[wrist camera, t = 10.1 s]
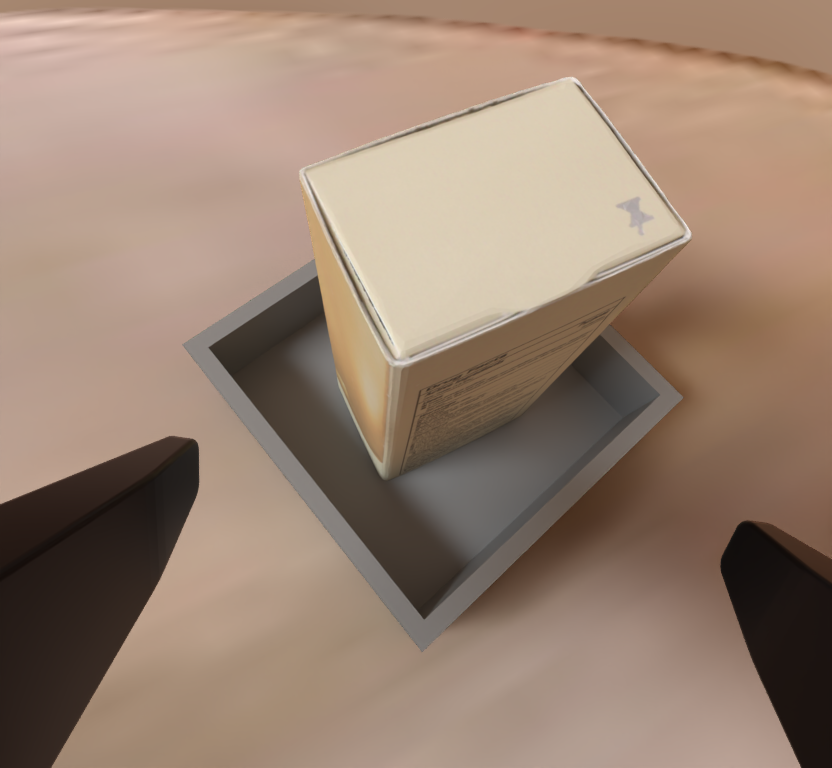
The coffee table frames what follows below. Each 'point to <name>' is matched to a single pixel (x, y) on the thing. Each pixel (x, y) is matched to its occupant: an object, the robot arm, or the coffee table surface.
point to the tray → (434, 481)
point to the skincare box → (478, 263)
